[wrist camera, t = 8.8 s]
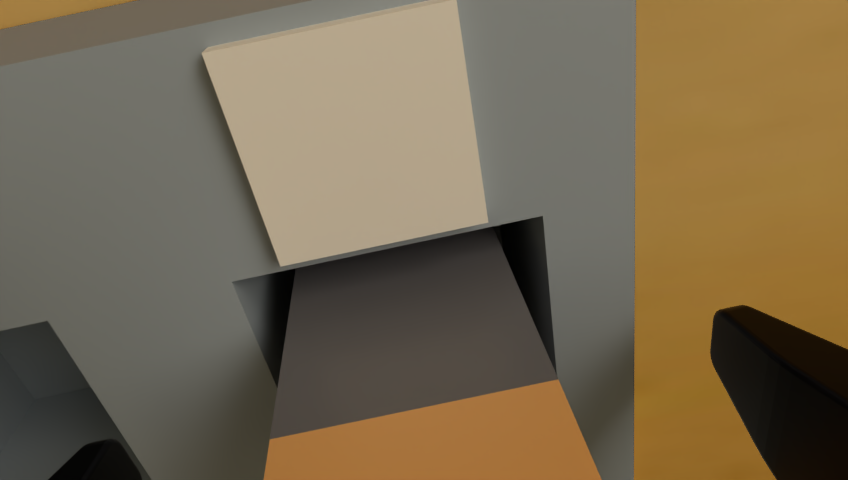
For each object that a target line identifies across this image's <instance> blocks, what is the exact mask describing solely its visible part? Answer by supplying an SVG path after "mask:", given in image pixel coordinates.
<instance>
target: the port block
mask: <svg viewBox="0 0 848 480" xmlns="http://www.w3.org/2000/svg"><path fill="white" fill-rule="evenodd" d="M635 79H636V0H138V1H133V2H128V3H123V4H119V5H114V6H109V7H105V8H100V9H95V10H90V11H86V12H81V13H76V14H72V15H67V16H62V17H57V18H53V19H48V20H43V21H39V22H34V23H29V24H24V25H20V26H15V27H10V28H6V29H1V30H0V480H48V479H49V478H50V477H51V476H52V475H53V474H54V473H55V472H56V471H57V470H59V469H60V468H61V467H62V466H63V465H64V464H65V463H66V462H67V461H68V460H69V459H70V458H71V457H72V456H73V455H74V454H75V453H76V452H77V451H78V450H79V449H81V448H82V447H83V446H84V445H86V444H88V443H91V442H95V441H100V440H105V439H110V438H112V439H116V440H118V441H120V443H121V444H122V445H123V447H124V448H125V450H126V451H127V453H128V454H129V456H130V457H131V459H132V461H133V462H134V464H135V465H136V467H137V468H138V470H139V471H140V473H141V476H142V480H264V474H265V467H266V461H267V454H268V448H269V441H270V434H271V428H272V421H273V415H274V408H275V402H276V395H277V388H278V382H279V375H280V369H281V362H282V356H283V349H284V343H285V336H286V329H287V323H288V316H289V310H290V303H291V297H292V290H293V284H294V277H295V270H296V268H299V267H304V266H309V265H313V264H318V263H323V262H327V261H332V260H337V259H342V258H346V257H351V256H356V255H360V254H365V253H370V252H375V251H379V250H384V249H389V248H394V247H398V246H403V245H408V244H412V243H417V242H422V241H427V240H431V239H436V238H441V237H445V236H450V235H455V234H460V233H464V232H469V231H474V230H478V229H483V228H488V227H493V229H494V231H495V233H496V236H497V238H498V240H499V243H500V245H501V247H502V249H503V252H504V254H505V256H506V259H507V261H508V263H509V266H510V268H511V270H512V273H513V275H514V277H515V280H516V282H517V284H518V287H519V289H520V291H521V294H522V296H523V298H524V301H525V303H526V305H527V308H528V310H529V312H530V315H531V317H532V319H533V321H534V324H535V326H536V328H537V331H538V333H539V335H540V338H541V340H542V342H543V345H544V347H545V349H546V352H547V354H548V356H549V359H550V361H551V363H552V366H553V368H554V370H555V373H556V375H557V377H558V380H559V382H560V384H561V387H562V389H563V391H564V393H565V396H566V398H567V400H568V403H569V405H570V407H571V410H572V412H573V414H574V417H575V419H576V421H577V424H578V426H579V428H580V431H581V433H582V435H583V438H584V440H585V442H586V445H587V447H588V449H589V452H590V454H591V456H592V458H593V461H594V463H595V465H596V468H597V470H598V472H599V475H600V477H601V479H602V480H634V292H635Z"/></svg>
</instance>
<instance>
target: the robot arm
mask: <svg viewBox="0 0 848 480" xmlns="http://www.w3.org/2000/svg"><path fill="white" fill-rule="evenodd" d="M710 354H711V360H712V363H713V366H714V368H715V370H716V372H717V374H718V376H719V377H720V379H721V381H722V383H723V385H724V387H725V389H726V391H727V393H728V394H729V396H730V398H731V400H732V402H733V404H734V406H735V408H736V410H737V411H738V413H739V415H740V417H741V419H742V421H743V423H744V425H745V426H746V428H747V430H748V432H749V434H750V436H751V438H752V440H753V442H754V443H755V445H756V447H757V449H758V450H759V452H760V454H761V456H762V458H763V459H764V461H765V462H766V464H767V465H768V467H769V469H770V470H771V472H772V473H773V475H774V476H775V478H776V479H777V480H848V349H846V348H843V347H841V346H839V345H836V344H834V343H832V342H830V341H827V340H825V339H823V338H820V337H818V336H816V335H813V334H811V333H809V332H807V331H804V330H802V329H800V328H797V327H795V326H793V325H790V324H788V323H786V322H784V321H781V320H779V319H777V318H774V317H772V316H770V315H768V314H765V313H763V312H761V311H758V310H756V309H754V308H751V307H749V306H745V305H739V306H734V307H730V308H725V309H721V310H718V311H717V312H716V313H715V315H714V319H713V328H712V339H711V349H710ZM48 480H142V476H141V473H140V471H139V470H138V468H137V467H136V465H135V464H134V462H133V461H132V459H131V457H130V456H129V454H128V453H127V451H126V450H125V448H124V447H123V445H122V444H121V443H120V441H118V440H116V439H112V438H110V439H105V440H100V441H95V442H91V443H88V444H86V445H84V446H83V447H82V448H81V449H79V450H78V451H77V452H76V453H75V454H74V455H73V456H72V457H71V458H70V459H69V460H68V461H67V462H66V463H65V464H64V465H63V466H62V467H61V468H60V469H59V470H57V471H56V472H55V473H54V474H53V475H52V476H51V477H50V478H49V479H48Z"/></svg>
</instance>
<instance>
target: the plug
mask: <svg viewBox="0 0 848 480" xmlns="http://www.w3.org/2000/svg"><path fill="white" fill-rule="evenodd" d="M264 480H602V479H601V477H600V475H599V472H598V470H597V468H596V465H595V463H594V461H593V458H592V456H591V454H590V452H589V449H588V447H587V445H586V442H585V440H584V438H583V435H582V433H581V431H580V428H579V426H578V424H577V421H576V419H575V417H574V414H573V412H572V410H571V407H570V405H569V403H568V400H567V398H566V396H565V393H564V391H563V389H562V387H561V384H560V382H559V380H558V377H557V375H556V373H555V370H554V368H553V366H552V363H551V361H550V359H549V356H548V354H547V352H546V349H545V347H544V345H543V342H542V340H541V338H540V335H539V333H538V331H537V328H536V326H535V324H534V321H533V319H532V317H531V315H530V312H529V310H528V308H527V305H526V303H525V301H524V298H523V296H522V294H521V291H520V289H519V287H518V284H517V282H516V280H515V277H514V275H513V273H512V270H511V268H510V266H509V263H508V261H507V259H506V256H505V254H504V252H503V249H502V247H501V245H500V243H499V240H498V238H497V236H496V233H495V231H494V229H493V227H488V228H483V229H478V230H474V231H469V232H464V233H460V234H455V235H450V236H445V237H441V238H436V239H431V240H427V241H422V242H417V243H412V244H408V245H403V246H398V247H394V248H389V249H384V250H379V251H375V252H370V253H365V254H360V255H356V256H351V257H346V258H342V259H337V260H332V261H327V262H323V263H318V264H313V265H309V266H304V267H299V268H296V270H295V277H294V284H293V290H292V297H291V303H290V310H289V316H288V323H287V329H286V336H285V343H284V349H283V356H282V362H281V369H280V375H279V382H278V388H277V395H276V402H275V408H274V415H273V421H272V428H271V434H270V441H269V448H268V454H267V461H266V467H265V474H264Z"/></svg>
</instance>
